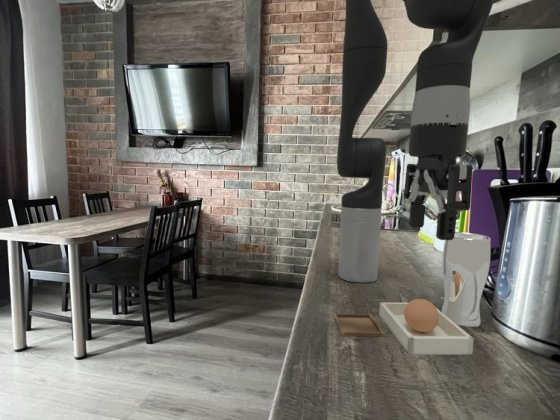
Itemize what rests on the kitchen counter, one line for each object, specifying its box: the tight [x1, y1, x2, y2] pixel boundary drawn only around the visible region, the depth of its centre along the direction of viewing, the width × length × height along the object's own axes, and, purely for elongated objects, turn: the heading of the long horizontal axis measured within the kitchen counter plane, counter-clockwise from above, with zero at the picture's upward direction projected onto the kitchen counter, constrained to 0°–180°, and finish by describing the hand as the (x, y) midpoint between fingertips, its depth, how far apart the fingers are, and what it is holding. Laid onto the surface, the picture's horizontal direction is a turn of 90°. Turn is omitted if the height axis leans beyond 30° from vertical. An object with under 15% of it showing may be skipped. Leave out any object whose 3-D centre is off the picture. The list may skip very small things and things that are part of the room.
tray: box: [378, 301, 475, 356], centre depth 49 cm, size 12×9×3 cm
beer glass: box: [440, 231, 492, 328], centre depth 54 cm, size 7×7×15 cm
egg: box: [404, 298, 439, 332], centre depth 49 cm, size 5×5×5 cm
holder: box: [332, 313, 386, 338], centre depth 51 cm, size 7×7×1 cm
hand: (429, 232), depth 48 cm, fingers open, 8 cm apart
